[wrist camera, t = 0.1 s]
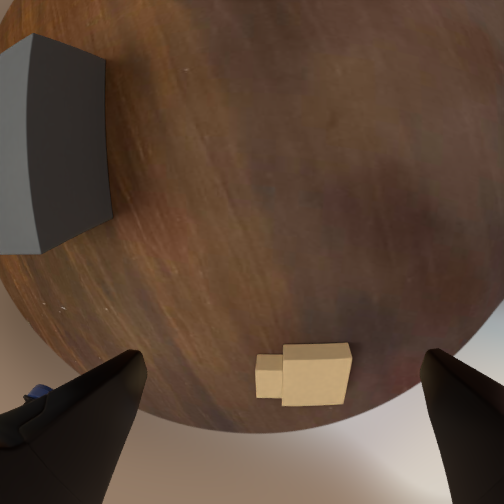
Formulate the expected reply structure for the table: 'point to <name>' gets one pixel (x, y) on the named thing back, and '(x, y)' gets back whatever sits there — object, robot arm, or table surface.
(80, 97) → the block
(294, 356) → the cream pad
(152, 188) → the table surface
